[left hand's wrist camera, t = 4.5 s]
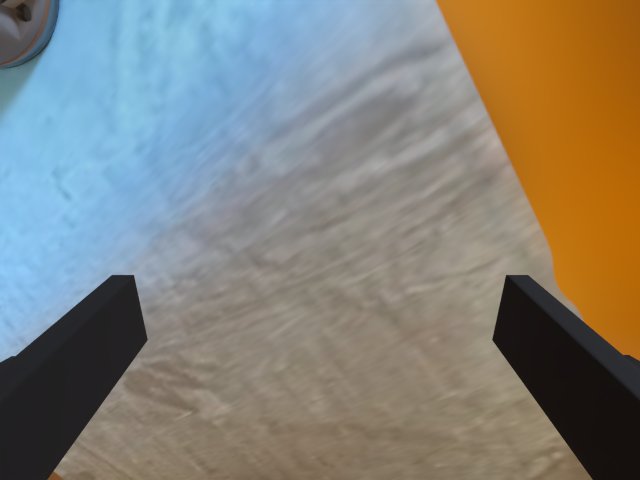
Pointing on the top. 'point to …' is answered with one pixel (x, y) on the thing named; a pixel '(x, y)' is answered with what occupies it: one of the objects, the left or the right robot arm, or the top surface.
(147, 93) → the top surface
